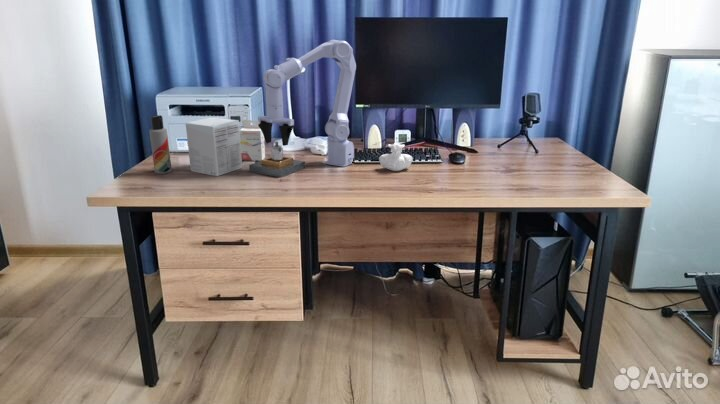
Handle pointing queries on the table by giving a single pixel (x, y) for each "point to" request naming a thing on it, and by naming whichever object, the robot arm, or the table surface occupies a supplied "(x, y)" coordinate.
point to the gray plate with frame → (277, 166)
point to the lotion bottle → (160, 146)
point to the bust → (395, 158)
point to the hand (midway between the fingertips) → (276, 143)
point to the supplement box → (214, 146)
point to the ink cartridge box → (252, 141)
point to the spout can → (277, 153)
